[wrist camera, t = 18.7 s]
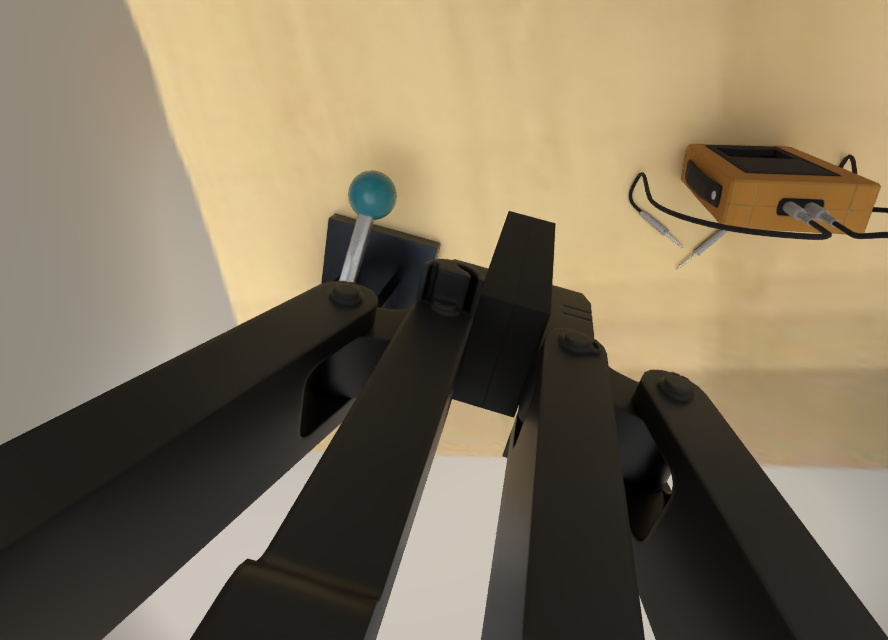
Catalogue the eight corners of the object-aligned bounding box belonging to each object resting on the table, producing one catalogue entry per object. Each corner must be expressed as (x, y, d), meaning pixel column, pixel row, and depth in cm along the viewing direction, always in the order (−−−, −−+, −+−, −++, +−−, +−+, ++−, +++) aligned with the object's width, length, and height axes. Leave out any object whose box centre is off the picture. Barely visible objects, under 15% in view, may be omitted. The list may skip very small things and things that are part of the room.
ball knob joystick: (362, 173, 42) (350, 158, 39) (405, 184, 42) (398, 171, 38) (309, 358, 42) (292, 361, 39) (352, 371, 42) (339, 375, 39)
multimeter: (616, 264, 45) (649, 397, 28) (635, 141, 41) (687, 208, 23) (807, 276, 43) (975, 432, 25) (849, 146, 38) (1089, 226, 21)
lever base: (334, 213, 49) (258, 267, 36) (440, 242, 48) (398, 307, 36) (321, 326, 54) (251, 404, 42) (415, 353, 53) (372, 442, 41)
